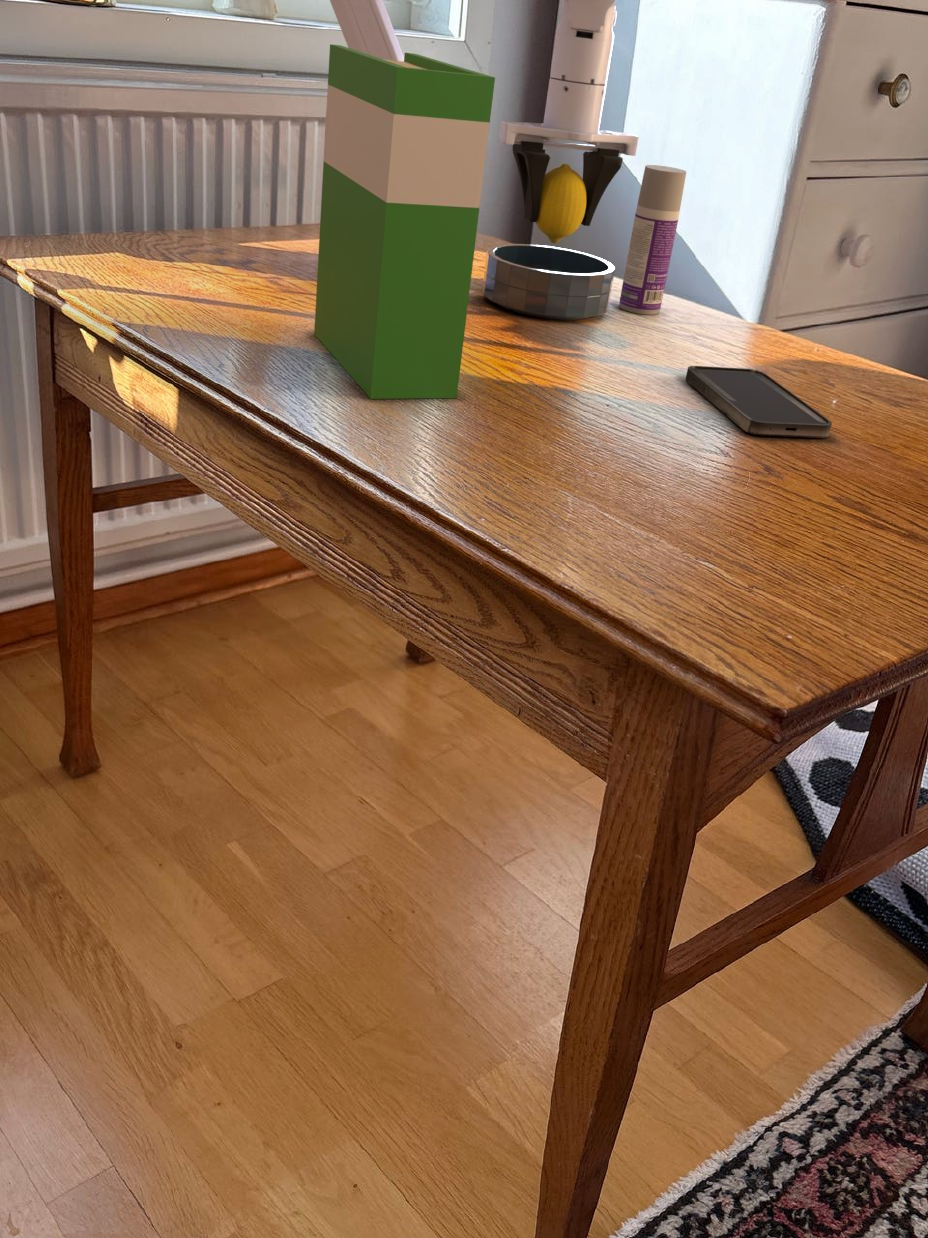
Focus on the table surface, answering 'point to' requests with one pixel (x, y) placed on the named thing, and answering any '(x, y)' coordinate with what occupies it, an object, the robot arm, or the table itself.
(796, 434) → the phone
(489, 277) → the bowl
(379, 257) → the green cereal box
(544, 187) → the lemon
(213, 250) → the table surface
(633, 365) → the table surface
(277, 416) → the table surface
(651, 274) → the container
